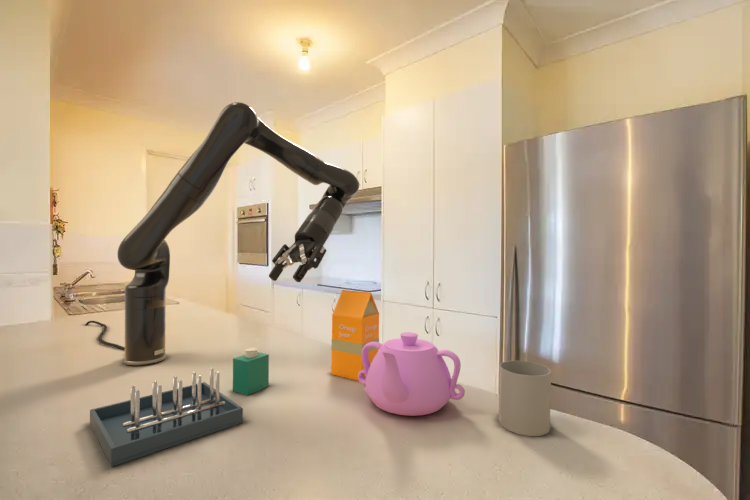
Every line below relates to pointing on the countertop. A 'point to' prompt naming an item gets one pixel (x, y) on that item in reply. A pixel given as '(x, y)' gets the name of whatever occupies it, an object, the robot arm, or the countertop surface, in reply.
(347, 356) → the orange juice
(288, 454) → the countertop surface
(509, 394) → the cup
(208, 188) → the robot arm
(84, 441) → the countertop surface
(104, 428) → the drip tray
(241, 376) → the detergent bottle
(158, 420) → the dish rack
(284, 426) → the countertop surface
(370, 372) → the teapot
